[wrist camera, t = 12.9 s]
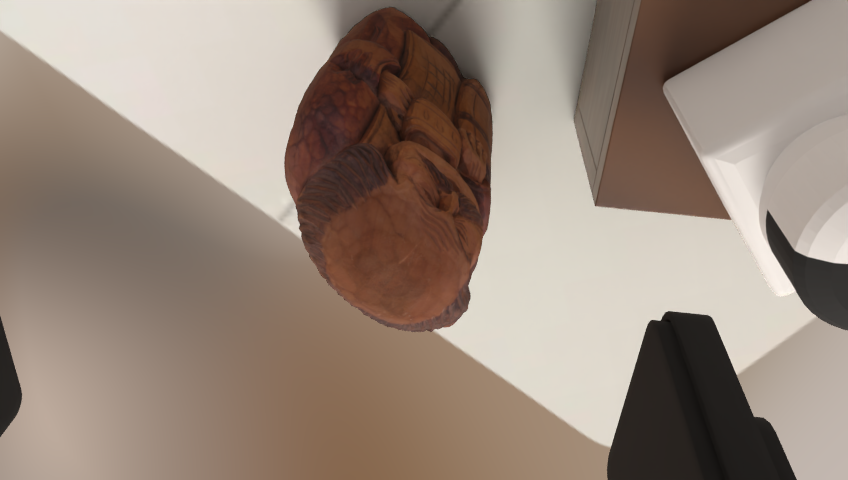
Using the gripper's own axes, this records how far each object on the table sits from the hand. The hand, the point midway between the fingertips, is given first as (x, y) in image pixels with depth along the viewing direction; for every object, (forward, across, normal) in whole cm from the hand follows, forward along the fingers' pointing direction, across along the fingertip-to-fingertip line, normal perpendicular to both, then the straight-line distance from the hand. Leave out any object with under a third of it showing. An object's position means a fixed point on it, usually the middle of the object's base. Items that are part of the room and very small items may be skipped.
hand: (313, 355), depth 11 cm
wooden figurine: (+32, 0, +8) cm, 34 cm away
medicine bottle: (+22, -15, +4) cm, 27 cm away
